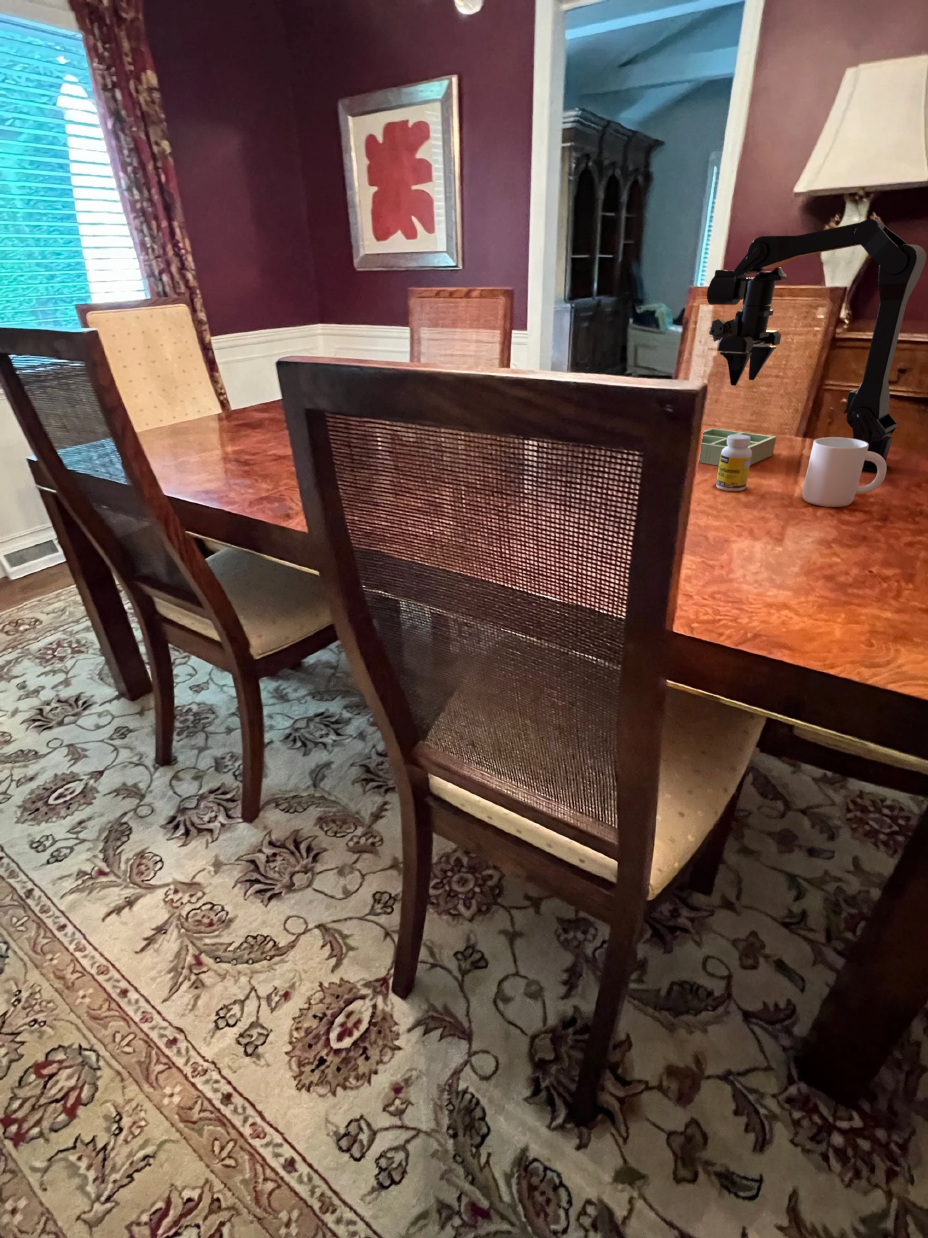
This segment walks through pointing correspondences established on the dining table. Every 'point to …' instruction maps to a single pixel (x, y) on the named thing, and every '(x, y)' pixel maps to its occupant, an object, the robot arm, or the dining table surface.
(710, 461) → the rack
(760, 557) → the dining table surface
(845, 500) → the mug
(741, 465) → the supplement bottle
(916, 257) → the robot arm
